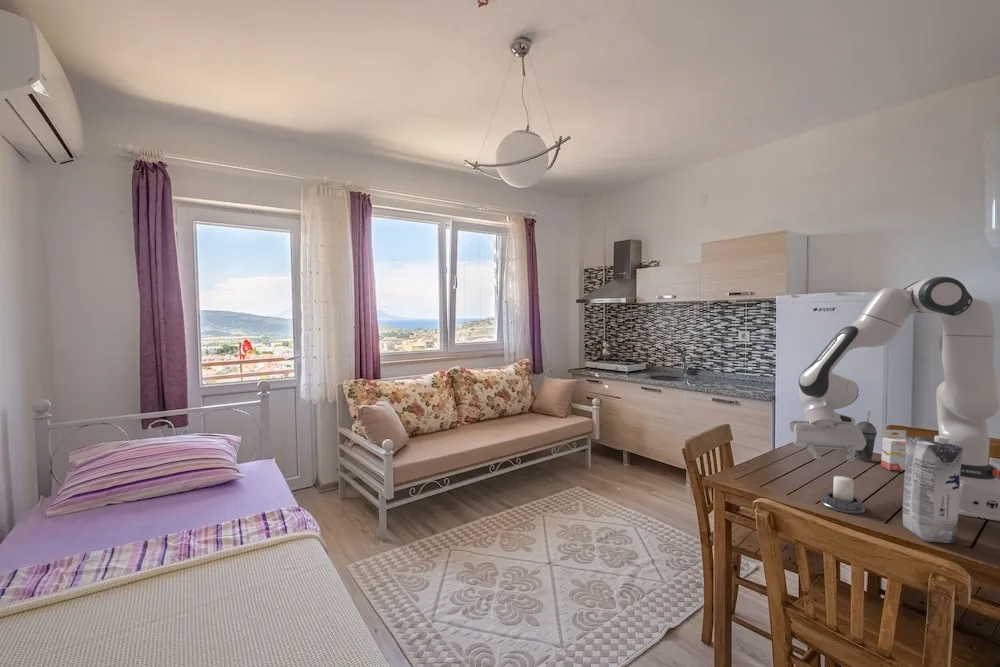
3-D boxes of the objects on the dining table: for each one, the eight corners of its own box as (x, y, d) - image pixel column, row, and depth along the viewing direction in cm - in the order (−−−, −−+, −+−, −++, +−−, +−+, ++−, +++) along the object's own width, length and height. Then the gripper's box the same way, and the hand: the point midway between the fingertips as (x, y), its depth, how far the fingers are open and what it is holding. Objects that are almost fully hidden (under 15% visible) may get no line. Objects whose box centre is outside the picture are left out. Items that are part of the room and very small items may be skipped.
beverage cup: (848, 457, 189) (850, 409, 188) (866, 457, 188) (868, 409, 187) (861, 462, 181) (863, 412, 180) (880, 463, 181) (882, 413, 180)
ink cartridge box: (890, 471, 172) (891, 432, 171) (880, 466, 177) (882, 429, 176) (914, 472, 171) (916, 433, 170) (904, 467, 176) (906, 429, 175)
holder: (865, 505, 142) (865, 496, 142) (864, 517, 134) (864, 508, 133) (822, 495, 149) (822, 488, 149) (818, 507, 141) (819, 498, 140)
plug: (853, 503, 142) (854, 478, 141) (852, 509, 138) (853, 483, 137) (833, 499, 145) (834, 474, 144) (832, 504, 141) (833, 479, 140)
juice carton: (922, 543, 119) (927, 440, 117) (896, 524, 129) (901, 430, 128) (963, 546, 117) (969, 442, 116) (933, 527, 127) (938, 432, 126)
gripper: (790, 415, 156) (800, 452, 147) (860, 418, 151) (875, 456, 142) (785, 425, 161) (795, 461, 152) (852, 428, 156) (867, 466, 147)
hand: (834, 459), depth 147 cm, fingers open, 8 cm apart
